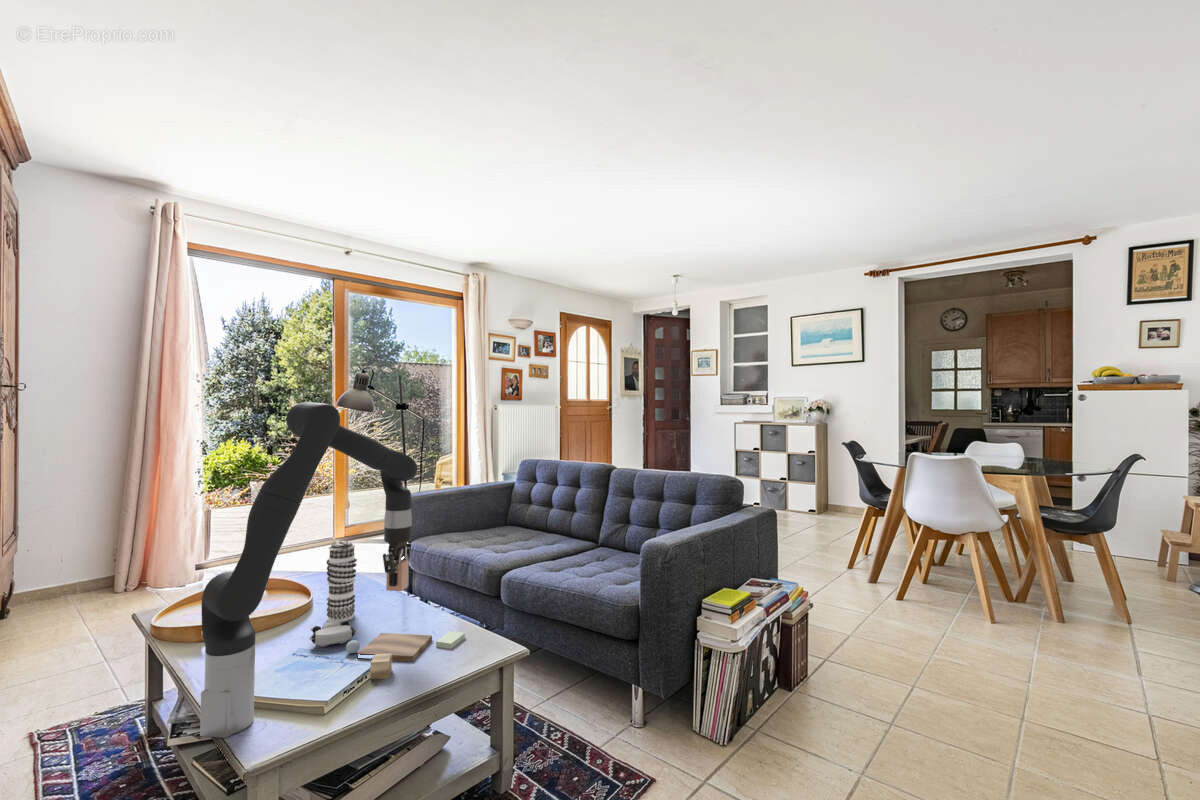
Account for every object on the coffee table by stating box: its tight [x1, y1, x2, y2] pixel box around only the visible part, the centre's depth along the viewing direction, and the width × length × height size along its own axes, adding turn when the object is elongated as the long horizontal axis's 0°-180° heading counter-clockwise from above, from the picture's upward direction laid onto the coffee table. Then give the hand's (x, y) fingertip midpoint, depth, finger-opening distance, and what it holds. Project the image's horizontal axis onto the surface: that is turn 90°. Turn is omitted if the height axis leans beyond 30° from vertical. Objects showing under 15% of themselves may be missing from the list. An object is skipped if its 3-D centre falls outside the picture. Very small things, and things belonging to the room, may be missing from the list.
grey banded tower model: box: [326, 540, 358, 623], centre depth 185 cm, size 9×9×25 cm
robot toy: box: [309, 620, 358, 648], centre depth 167 cm, size 12×4×15 cm
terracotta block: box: [385, 559, 410, 592], centre depth 162 cm, size 4×4×8 cm
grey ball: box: [345, 639, 361, 654], centre depth 158 cm, size 4×4×4 cm
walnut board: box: [356, 632, 433, 662], centre depth 161 cm, size 14×16×2 cm
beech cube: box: [369, 654, 393, 680], centre depth 146 cm, size 4×4×4 cm
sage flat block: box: [435, 630, 466, 650], centre depth 167 cm, size 8×5×2 cm, turn 164°
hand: (397, 582), depth 162 cm, fingers closed on terracotta block, 4 cm apart
